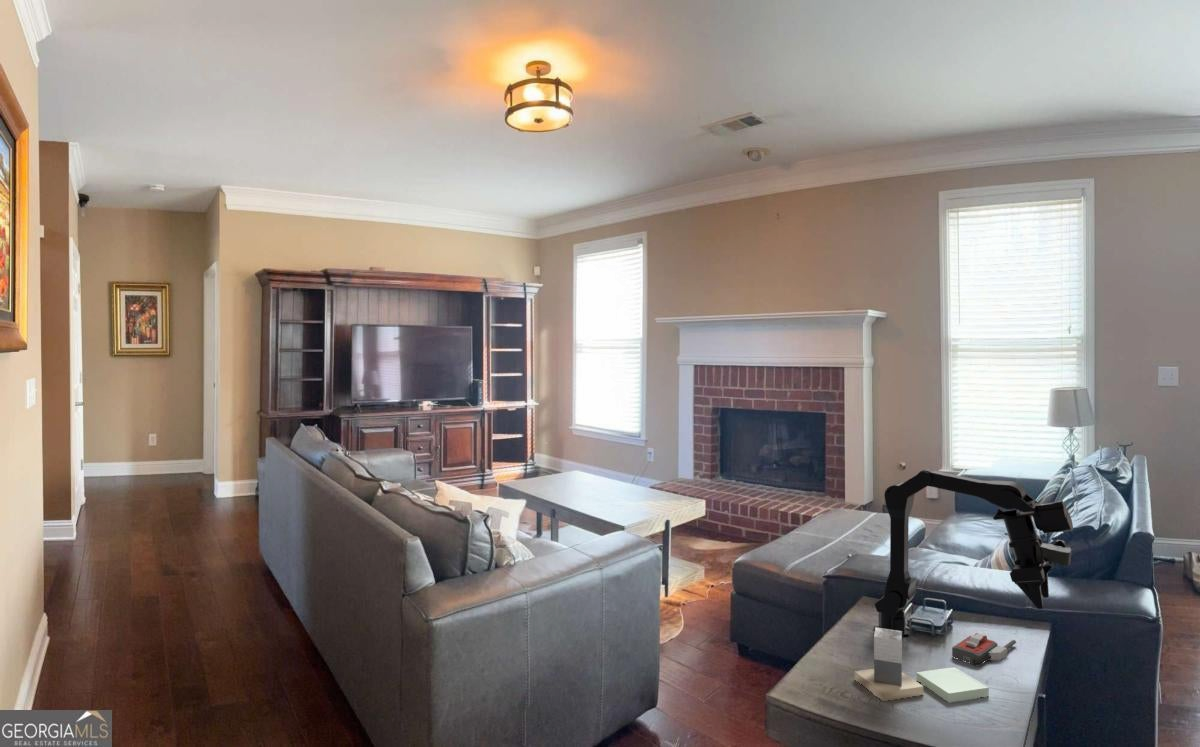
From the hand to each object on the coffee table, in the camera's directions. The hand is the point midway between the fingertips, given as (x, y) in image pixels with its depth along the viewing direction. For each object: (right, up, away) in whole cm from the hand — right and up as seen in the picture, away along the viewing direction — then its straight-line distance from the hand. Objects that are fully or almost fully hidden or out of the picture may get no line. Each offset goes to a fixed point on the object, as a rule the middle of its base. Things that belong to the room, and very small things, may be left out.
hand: (1043, 602), depth 158 cm
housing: (-39, -14, -8) cm, 43 cm away
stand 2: (-26, -16, -9) cm, 31 cm away
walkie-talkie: (-8, -16, +9) cm, 20 cm away
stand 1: (-39, -16, -8) cm, 43 cm away
